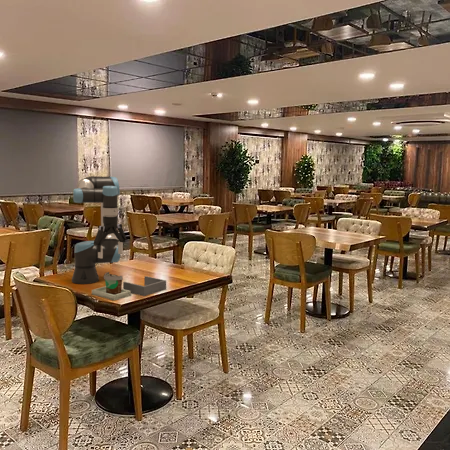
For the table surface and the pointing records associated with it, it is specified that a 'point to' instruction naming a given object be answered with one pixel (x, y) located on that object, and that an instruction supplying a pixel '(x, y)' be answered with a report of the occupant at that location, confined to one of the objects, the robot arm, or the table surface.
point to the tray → (102, 293)
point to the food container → (113, 283)
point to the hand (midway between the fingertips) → (110, 256)
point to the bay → (151, 286)
